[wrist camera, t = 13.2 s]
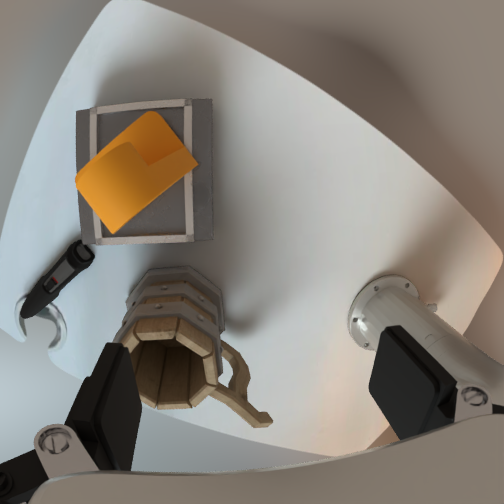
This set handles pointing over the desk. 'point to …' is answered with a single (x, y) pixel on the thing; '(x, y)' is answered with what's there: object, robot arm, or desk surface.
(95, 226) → the grey square tray
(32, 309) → the electric trimmer
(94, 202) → the bracket
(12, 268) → the desk surface
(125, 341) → the tankard
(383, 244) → the desk surface
